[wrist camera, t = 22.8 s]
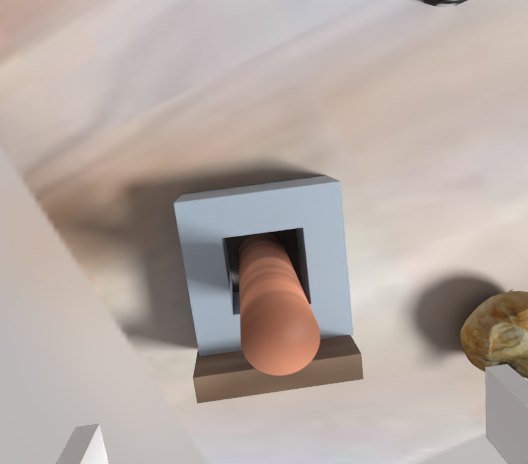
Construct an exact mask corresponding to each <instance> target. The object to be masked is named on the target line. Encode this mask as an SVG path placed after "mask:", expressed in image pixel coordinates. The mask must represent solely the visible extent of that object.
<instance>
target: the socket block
mask: <svg viewBox="0 0 528 464" xmlns="http://www.w3.org/2000/svg"><path fill="white" fill-rule="evenodd" d="M174 209H175V215H176V220H177V226H178V232H179V238H180V244H181V250H182V256H183V262H184V268H185V274H186V279H187V285H188V291H189V297H190V303H191V309H192V315H193V321H194V327H195V333H196V338H197V344H198V350H199V356H207V355H214V354H221V353H228V352H235V351H242V347H241V337H240V294H239V292H233V286H232V279H231V272H230V265H229V259H228V252H227V245H226V238H228V237H235V236H243V235H250V234H257V233H265V232H272V231H280V230H287V229H295V228H296V235H297V244H298V253H299V262H300V271H301V280H302V283H300V285H301V287H302V289H303V292H304V294H305V296H306V298H307V301H308V303H309V305H310V308H311V310H312V312H313V314H314V317H315V319H316V321H317V324H318V326H319V330H320V339H326V338H333V337H340V336H347V335H353V326H352V315H351V303H350V291H349V279H348V268H347V256H346V244H345V232H344V221H343V209H342V197H341V185H340V181H338V180H336V179H333V178H331V177H329V176H318V177H310V178H303V179H295V180H287V181H280V182H272V183H264V184H256V185H249V186H241V187H233V188H226V189H218V190H210V191H203V192H195V193H187V194H182V195H181V196H180V197H179V198H178V199H177V200H176V201H175V202H174Z"/></svg>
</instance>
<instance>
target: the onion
mask: <svg viewBox="0 0 528 464" xmlns="http://www.w3.org/2000/svg"><path fill="white" fill-rule="evenodd" d="M512 290H513V289H512ZM512 290H511V291H512ZM511 291H509V292H506V293H499V294H498V295H495V296H492V297H490V298H489V299H487V300H486V301H484V302H483V303H481V304H480V305H479V306H478V307H477V308H476V309H475V310H474V311H473V312H472V313H471V315H470V316H469V318H468V319H467V320H466V321H465V323H464V325H463V327H462V328H461V332H460V341H461V344H462V346H463V349H464V351H465V354H466V356H467V358H468V360H469V361H470V362H471V363H472V364H473V365H474V366H476V367H477V368H479V369H480V370H482V371H484V372H485V367H491V366H498V365H505V364H508V365H509V366H510V367H511V368H512V369H513V370H515V371H516V372H517V373H518V374H519V375H521V376H522V377H525V378H527V379H528V292H522V291H512V292H511Z"/></svg>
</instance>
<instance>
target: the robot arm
mask: <svg viewBox="0 0 528 464" xmlns="http://www.w3.org/2000/svg"><path fill="white" fill-rule="evenodd" d="M485 384H486V438H487V439H488V440H489V441H490V443H491V444H492V445H493V446H494V447H495V449H496V450H497V451H498V452H499V454H500V455H501V456H502V457H503V458H504V460H505V461H506V462H507V463H508V464H528V381H526V380H525V379H524V378H523V377H522V376H521V375H519V374H518V373H517V372H516V371H515V370H513V369H512V368H511V367H510V366H509V365H508V364H505V365H498V366H491V367H485ZM56 464H109V463H108V459H107V455H106V451H105V446H104V442H103V438H102V434H101V430H100V425H99V424H94V425H87V426H80V427H76V428H75V430H74V431H73V433H72V435H71V437H70V439H69V441H68V442H67V444H66V446H65V448H64V450H63V452H62V453H61V455H60V457H59V459H58V461H57V463H56Z"/></svg>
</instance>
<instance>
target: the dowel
mask: <svg viewBox="0 0 528 464" xmlns="http://www.w3.org/2000/svg"><path fill="white" fill-rule="evenodd" d="M239 294H240V337H241V347H242V351H243V354H244V356H245V357H246V359H247V360H248V362H249V363H250V364H251V365H252V366H253V367H255V368H256V369H257V370H259V371H261V372H263V373H266V374H269V375H278V376H281V375H288V374H292V373H295V372H297V371H299V370H301V369H302V368H304V367H305V366H307V365H308V364H309V363H310V362H311V361H312V359H313V358H314V356H315V355H316V353H317V351H318V348H319V344H320V330H319V326H318V324H317V321H316V319H315V317H314V314H313V312H312V310H311V308H310V305H309V303H308V301H307V298H306V296H305V294H304V292H303V289H302V287H301V285H300V282H299V280H298V278H297V275H296V273H295V271H294V269H293V266H292V264H291V262H290V259H289V257H288V255H287V253H286V250H285V248H284V246H283V244H282V242H281V241H280V240H279V239H278V238H277V237H276V236H274V235H273V234H270V233H266V232H265V233H257V234H252V235H250V236H249V237H247V238H246V239H245V240H244V241H243V243H242V244H241V246H240V249H239Z"/></svg>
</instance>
